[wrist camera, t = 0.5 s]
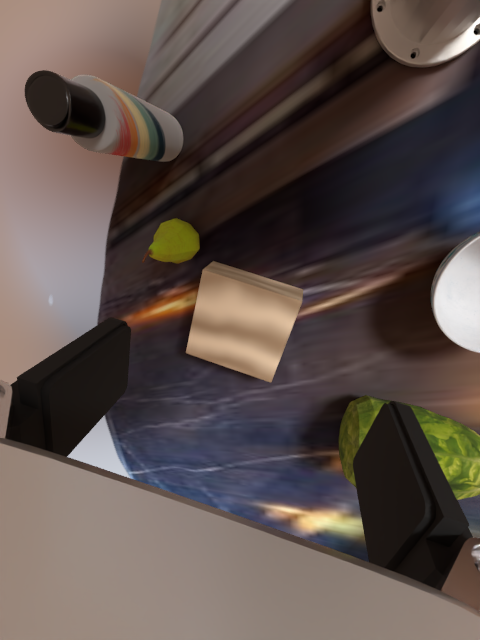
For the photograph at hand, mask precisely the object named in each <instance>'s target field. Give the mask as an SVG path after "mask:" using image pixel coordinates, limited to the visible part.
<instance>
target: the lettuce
mask: <svg viewBox="0 0 480 640" xmlns="http://www.w3.org/2000/svg"><path fill="white" fill-rule="evenodd" d="M389 402H390V401H389V400H382V399H378V398H374V397H371V396H367V395H365V396H363V397H361V398H358V399H356V400H354V401H351V402H350V403H349V405H348V407H347V409H346V412H345V414H344V416H343V418H342V422H341V426H340V432H339V455H340V460H341V464H342V469H343V472H344V475H345V478H347V479H348V480H349V481H350V482H351V483H352V484H353V485H354V486H355V487H356V482H355V477H354V471H353V460H354V457H355V455H356V453H357V451H358V449H359V447H360V445H361V444H362V442H363V440H364V438H365V436H366V434H367V433H368V431H369V429H370V427H371V425H372V423H373V422H374V420H375V418H376V416H377V414H378V412H379V411H380V409H381V407H382V405H383V404H384V403H387V404H388V403H389ZM395 402H396V401H395ZM398 403H401V402H398ZM402 404H405V403H402ZM405 405H409V406H410V407H411V408H412V410H413V412H414V414H415V416H416V418H417V420H418V422H419V424H420V426H421V428H422V430H423V432H424V434H425V436H426V438H427V440H428V442H429V444H430V446H431V448H432V450H433V452H434V454H435V456H436V458H437V460H438V462H439V464H440V466H441V468H442V470H443V472H444V475H445V477H446V479H447V481H448V483H449V485H450V487H451V489H452V491H453V493H454V495H455V497H456V499H457V500H458V499H463V498H468V497H472V496H476V495H478V494H480V436H479V435H478V434H477V433H476V432H474V431H473V430H471V429H469V428H468V427H466V426H464V425H463V424H461V423H458V422H456V421H454V420H452V419H449V418H447V417H444V416H441V415H438V414H435V413H433V412H431V411H429V410H426V409H424V408H422V407H418V406H414V405H410V404H405Z"/></svg>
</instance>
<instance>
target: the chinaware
mask: <svg viewBox="0 0 480 640" xmlns="http://www.w3.org/2000/svg"><path fill="white" fill-rule="evenodd" d="M431 306H432V311H433V314H434V317H435V320H436V322H437V324H438V326H439V327H440V329H441V330H442V332H443V333H444V334H445V335H446V336H447V337H448V338H449V339H450V340H452V341H453V342H454V343H456V344H457V345H459V346H461V347H463V348H465V349H468V350H471V351H474V352H478V353H480V232H478V233H476V234H474V235H472V236H470V237H469V238H467V239H465V240H464V241H463V242H461V243H460V244H459V245H457V246H456V247H455V248H454V249H453V250H452V251H451V252H450V253H449V254H448V255H447V256H446V257H445V259H444V260H443V261H442V263H441V264H440V266H439V268H438V269H437V272H436V274H435V276H434V279H433V283H432V287H431Z"/></svg>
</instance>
